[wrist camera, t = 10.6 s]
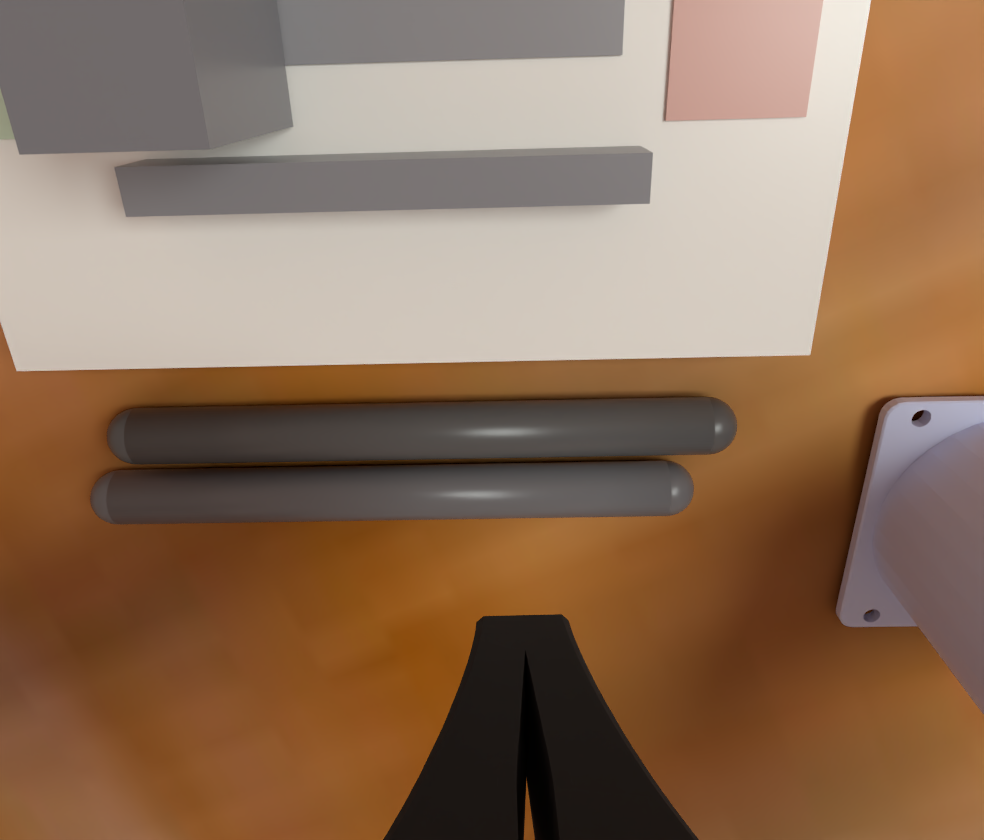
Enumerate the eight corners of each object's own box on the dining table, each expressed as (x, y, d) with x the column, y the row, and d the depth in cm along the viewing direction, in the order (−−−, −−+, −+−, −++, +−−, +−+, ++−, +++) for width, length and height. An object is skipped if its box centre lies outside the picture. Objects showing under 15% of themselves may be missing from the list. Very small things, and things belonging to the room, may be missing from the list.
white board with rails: (912, -528, 13) (1043, -719, 10) (757, 495, 22) (799, 566, 19) (-186, -476, 14) (-394, -641, 10) (107, 506, 23) (44, 576, 20)
